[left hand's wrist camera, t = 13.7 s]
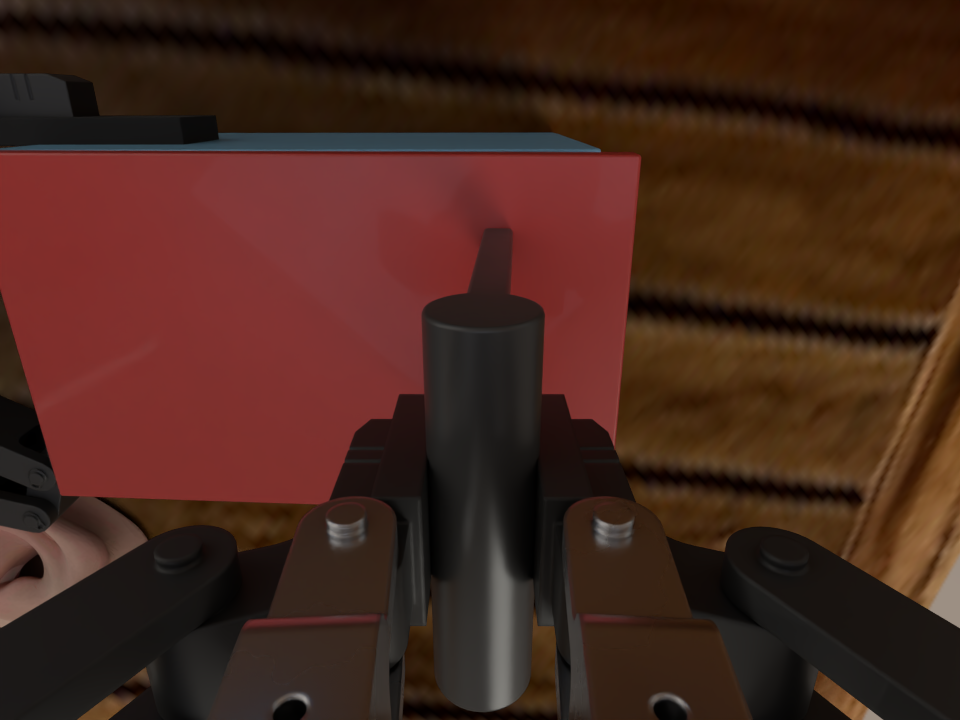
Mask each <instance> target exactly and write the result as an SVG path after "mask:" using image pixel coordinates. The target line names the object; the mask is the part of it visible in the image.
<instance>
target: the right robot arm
mask: <svg viewBox="0 0 960 720" xmlns="http://www.w3.org/2000/svg"><path fill="white" fill-rule="evenodd" d="M213 140H219V135H218V129H217V122H216V115H199V116H99V111H98V106H97V101H96V97H95V92H94V87H93V83H92V82H90V81H87V80H85V79H82V78H79V77H77V76H74V75H59V74H0V146H31V145H184V144H192V143H199V142H206V141H213ZM79 497H80V496H62V495H61V494H60V492H59V488H58V485H57V482H56V478H55V475H54V471H53V468H52V465H51V461H50V458H49V454H48V451H47V448H46V444H45V441H44V437H43V434H42V431H41V427H40V424H39V420H38V417H37V413H36V411H34V410H32V409H30V408H27V407H25V406H23V405H21V404H18V403H16V402H14V401H11V400H9V399H7V398H5V397H2V396H0V526H4V527H9V528H13V529H18V530H23V531H28V532H32V533H41V532H44V531H46V530H47V529H48V528H49V527H50V526H51V525H52V524H53V523H54V522H55V521H56V520H57V519H58V518H59V517H60V516H61V515H62V514H63V513H64V512H65V511H66V510H67V509H68V508H69V507H70V506H71V505H72V504H73V503H74V502H75V501H76V500H77V499H78V498H79Z"/></svg>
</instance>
